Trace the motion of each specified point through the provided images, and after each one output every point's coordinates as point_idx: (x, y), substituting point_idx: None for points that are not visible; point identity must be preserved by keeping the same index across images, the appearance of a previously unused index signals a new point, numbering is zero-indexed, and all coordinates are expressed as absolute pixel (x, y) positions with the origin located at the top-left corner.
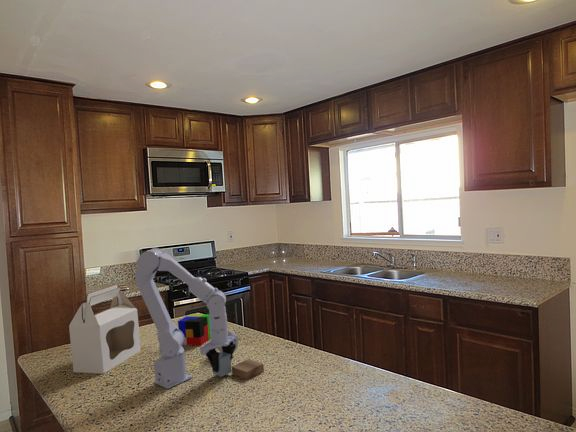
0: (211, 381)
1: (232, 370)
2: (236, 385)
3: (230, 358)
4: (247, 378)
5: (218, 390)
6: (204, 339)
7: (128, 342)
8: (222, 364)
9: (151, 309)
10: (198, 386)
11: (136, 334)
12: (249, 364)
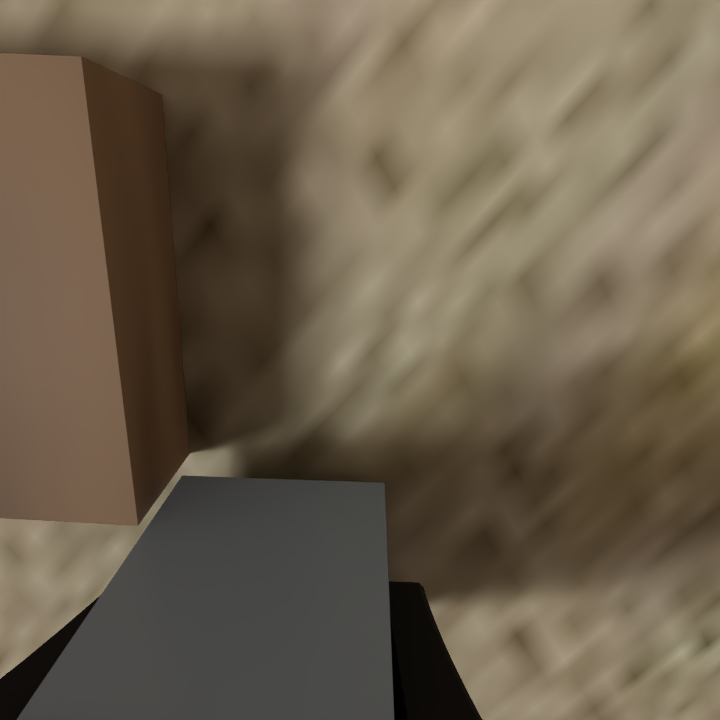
0: (493, 526)
1: (163, 473)
2: (405, 99)
3: (36, 680)
4: (139, 88)
5: (673, 232)
6: None
7: None
8: (325, 629)
9: None
10: (677, 557)
11: None
12: None
